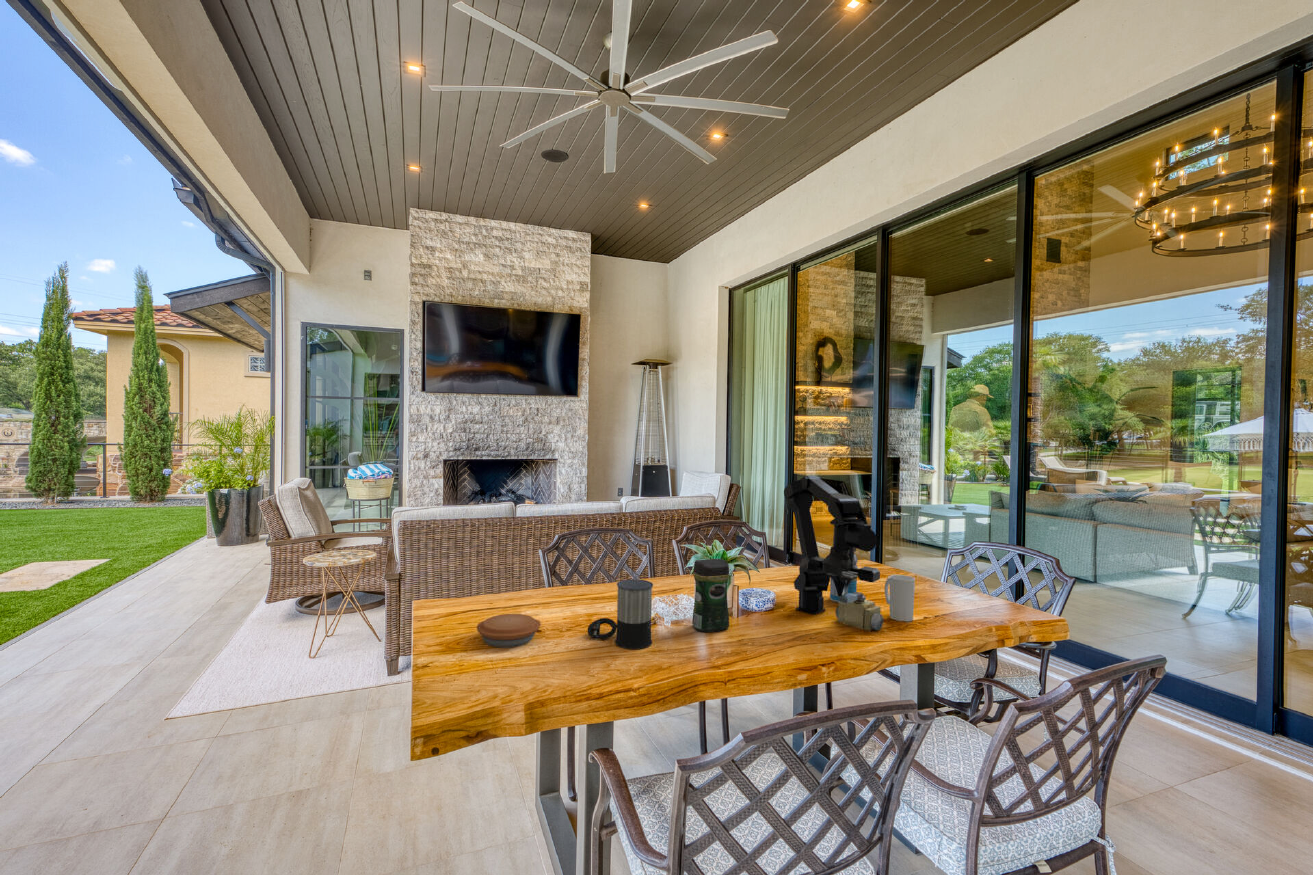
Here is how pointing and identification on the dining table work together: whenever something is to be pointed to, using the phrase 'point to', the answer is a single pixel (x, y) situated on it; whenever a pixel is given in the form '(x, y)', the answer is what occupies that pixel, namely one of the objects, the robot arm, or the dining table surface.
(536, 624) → the pie
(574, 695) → the dining table surface
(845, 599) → the lever
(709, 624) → the coffee jar
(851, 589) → the beverage bottle
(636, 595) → the milk frother
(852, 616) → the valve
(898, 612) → the mug
